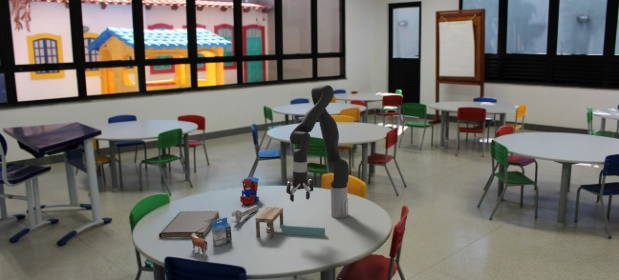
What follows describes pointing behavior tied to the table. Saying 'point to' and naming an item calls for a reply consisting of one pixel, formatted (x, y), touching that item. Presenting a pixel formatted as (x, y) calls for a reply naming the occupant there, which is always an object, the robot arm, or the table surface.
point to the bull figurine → (199, 243)
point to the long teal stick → (303, 230)
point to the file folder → (190, 224)
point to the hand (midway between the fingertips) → (299, 200)
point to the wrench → (243, 213)
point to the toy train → (249, 190)
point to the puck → (268, 230)
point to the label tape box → (221, 232)
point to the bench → (269, 219)
